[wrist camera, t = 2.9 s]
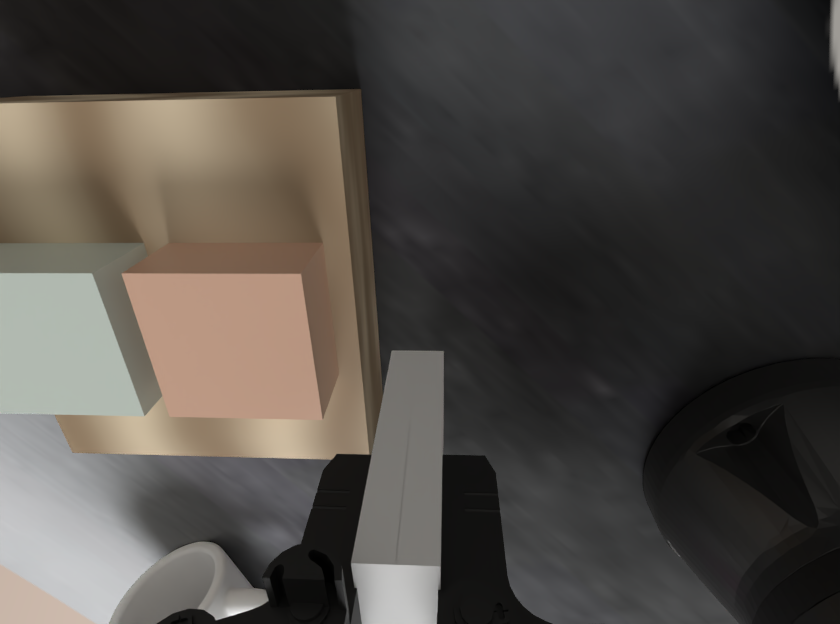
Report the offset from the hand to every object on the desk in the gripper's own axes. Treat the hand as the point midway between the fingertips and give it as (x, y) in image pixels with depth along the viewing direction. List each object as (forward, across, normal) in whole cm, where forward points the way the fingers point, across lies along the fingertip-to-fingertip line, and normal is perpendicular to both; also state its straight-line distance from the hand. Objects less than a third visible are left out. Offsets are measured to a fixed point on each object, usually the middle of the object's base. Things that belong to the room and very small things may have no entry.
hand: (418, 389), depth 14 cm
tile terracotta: (+5, +7, 0) cm, 9 cm away
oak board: (+10, +10, 0) cm, 15 cm away
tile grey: (+6, +14, 0) cm, 15 cm away
